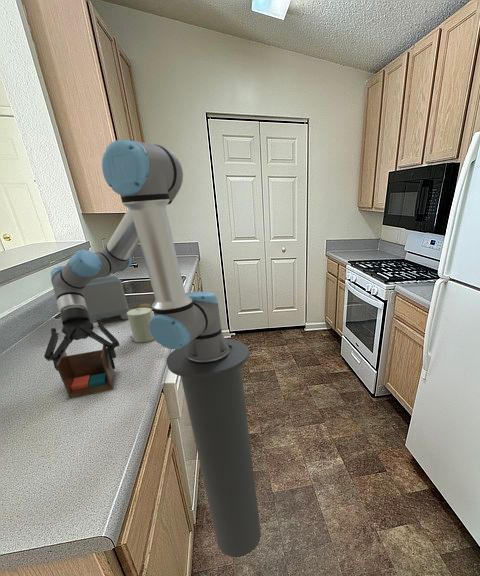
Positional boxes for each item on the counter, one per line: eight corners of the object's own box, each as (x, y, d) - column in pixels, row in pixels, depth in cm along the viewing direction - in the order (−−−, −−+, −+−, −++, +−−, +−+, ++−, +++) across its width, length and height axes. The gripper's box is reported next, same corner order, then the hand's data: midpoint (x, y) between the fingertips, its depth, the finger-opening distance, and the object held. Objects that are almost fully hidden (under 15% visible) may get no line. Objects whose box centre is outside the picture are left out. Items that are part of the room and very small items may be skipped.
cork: (145, 332, 142) (139, 307, 137) (140, 328, 146) (134, 304, 141) (159, 328, 146) (154, 304, 141) (154, 324, 150) (148, 301, 145)
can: (154, 331, 142) (148, 304, 136) (160, 338, 135) (154, 310, 130) (131, 337, 137) (123, 309, 132) (136, 344, 131) (128, 315, 125)
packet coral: (91, 378, 106) (90, 374, 106) (88, 387, 101) (87, 383, 101) (75, 381, 105) (74, 377, 104) (72, 390, 100) (71, 387, 99)
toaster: (116, 302, 181) (105, 264, 171) (132, 319, 157) (120, 275, 148) (77, 310, 171) (63, 270, 161) (87, 328, 147) (72, 283, 138)
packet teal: (107, 375, 107) (106, 372, 107) (105, 384, 102) (104, 381, 102) (92, 378, 106) (90, 375, 105) (89, 387, 101) (88, 384, 100)
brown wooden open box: (114, 373, 110) (105, 343, 105) (113, 389, 101) (102, 357, 96) (75, 381, 106) (63, 350, 101) (69, 398, 97) (56, 365, 92)
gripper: (118, 310, 114) (134, 367, 110) (31, 325, 103) (45, 388, 99) (115, 299, 108) (132, 358, 103) (22, 313, 97) (36, 380, 92)
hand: (89, 373), depth 101 cm, fingers closed on brown wooden open box, 12 cm apart
